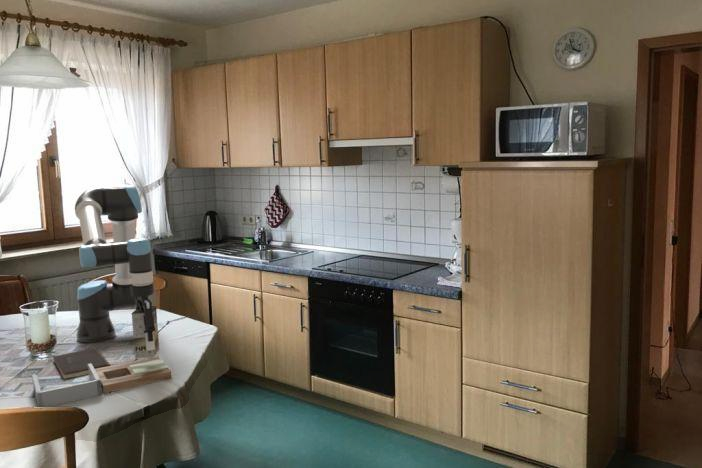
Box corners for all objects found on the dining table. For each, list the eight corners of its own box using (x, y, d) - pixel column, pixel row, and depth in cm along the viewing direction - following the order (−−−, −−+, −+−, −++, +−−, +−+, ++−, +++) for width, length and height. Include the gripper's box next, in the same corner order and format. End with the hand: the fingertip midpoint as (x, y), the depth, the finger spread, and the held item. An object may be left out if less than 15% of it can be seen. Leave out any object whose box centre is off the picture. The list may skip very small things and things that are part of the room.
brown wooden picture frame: (94, 375, 216) (94, 368, 215) (158, 362, 227) (157, 355, 227) (103, 393, 201) (103, 385, 200) (171, 378, 212) (171, 370, 211)
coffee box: (153, 357, 211) (150, 312, 209) (134, 359, 211) (130, 313, 208) (159, 349, 220) (156, 305, 218) (141, 350, 220) (137, 306, 217)
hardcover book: (63, 380, 214) (62, 374, 213) (53, 362, 233) (52, 356, 232) (111, 370, 222) (110, 364, 222) (97, 353, 241) (97, 347, 241)
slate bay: (33, 389, 205) (32, 374, 205) (92, 377, 215) (91, 363, 214) (38, 408, 190) (36, 393, 189) (102, 394, 199) (100, 380, 198)
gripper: (123, 279, 220) (128, 339, 223) (138, 291, 200) (143, 356, 203) (145, 276, 223) (149, 335, 227) (161, 288, 204) (166, 352, 207)
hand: (146, 345), depth 215 cm, fingers closed on coffee box, 10 cm apart
